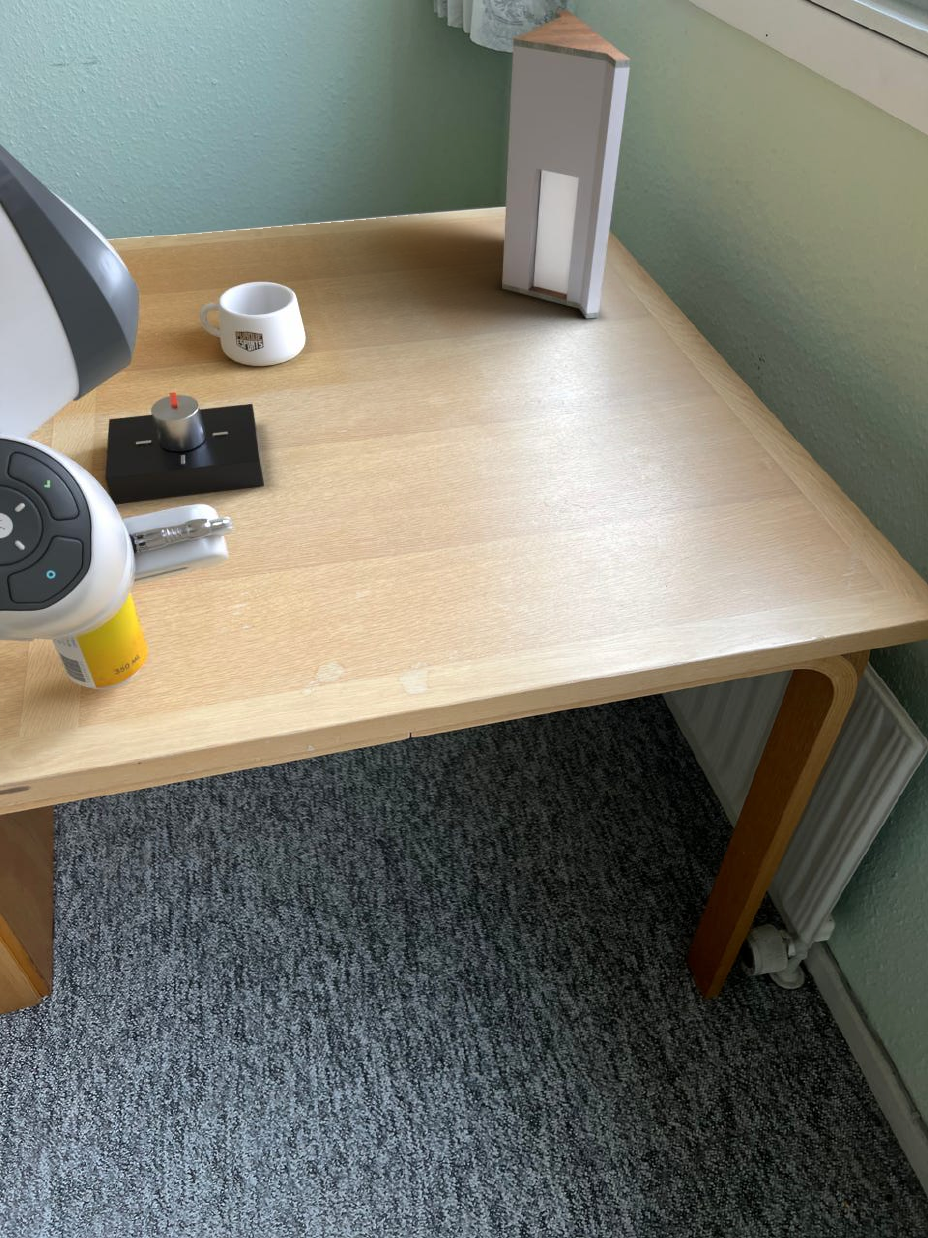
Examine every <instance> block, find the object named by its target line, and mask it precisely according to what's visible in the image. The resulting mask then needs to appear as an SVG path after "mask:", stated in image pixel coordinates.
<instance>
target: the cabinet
mask: <svg viewBox="0 0 928 1238" xmlns="http://www.w3.org/2000/svg"><path fill="white" fill-rule="evenodd" d="M512 46H513V47H512V65H511V67H512V68H511V69H512V70H511V85H510V86H511V89H510V109H509V132H508V153H507V171H506V173H507V174H506V176H507V177H506V196H505V214H504V215H505V216H504V217H505V219H504V239H503V260H502V261H503V262H502V281H501V282H502V283H501V289H503V290H506V291H510V292H515V293H518V294H522V295H526V296H529V297H534V298H537V299H540V300H545V301H549V302H551V303H552V302H553V303H555V304H556V303H557V304H558V305H559V304H560V305H563V306H567V307H572V308H575V309H579V311H580V312H581V313H582V315H583V316H584V318H585V319H596V318H599V316H600V315H599V314H600V307H601V306H600V305H601V298H602V291H603V284H604V274H605V268H606V267H605V266H606V259H607V250H608V244H609V243H608V242H609V234H610V226H611V219H612V212H613V204H614V203H613V202H614V195H615V188H616V179H617V174H618V173H617V171H618V165H619V164H618V163H619V156H620V148H621V141H622V132H623V125H624V116H625V109H626V100H627V92H628V85H629V77H630V70H631V59H630V58H629V57H628V56H627V55H625V54H624V53H623V52H621V51H620V50H619V49H617V47H615V46H613V45H612V44H611V43H610V42H609V41H607V40H606V39H605V38H604V37H602V36H601V35H600V34H599V33H597V32H596V31H595V30H593V29H592V28H591V27H590V26H588V25H587V23H584V21H582V20H581V19H580V18H578V17H577V16H576V15H574V13H572V12H570V11H569V10H566V9H565V10H555V11H554V19H553V20H551V21H549V22H547V23H544V24H543V25H540V26H538V27H536V28H534V29H531V30H530V31H528V32H525V33H523V34H520V35H518V36H516V37H514V38H513V45H512Z"/></svg>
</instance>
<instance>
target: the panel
mask: <svg viewBox="0 0 928 1238" xmlns="http://www.w3.org/2000/svg"><path fill="white" fill-rule="evenodd" d="M200 411H201V416H202V421H203V425H204V430H205V435H206V436H205V440H204V441H203V443H202V444H201V445H199V446H198V447H196V448H194V449H191V450H187V451H180V452H176V451H169V450H166V449H164V448H163V447H162V446H161V445H160V444H159V440H158V437H157V433H156V429H155V425H154V421H153V417H152V414H143V415H136V416H125V417H117V418H109V419H108V433H107V446H106V459H105V461H106V462H105V474H104V479H105V482H106V486H107V489H108V491H109V494H110V495H109V496H110V498H111V499H112V501H113V502H114V504H115V505H118V504H128V503H136V502H142V501H143V502H144V501H145V502H146V501H153V500H160V499H168V498H177V497H183V496H184V497H186V496H193V495H200V494H201V495H202V494H209V493H217V492H225V491H233V490H234V491H235V490H241V489H248V488H249V489H250V488H257V487H264V486H265V481H264V474H263V466H262V458H261V452H260V451H261V450H260V444H259V437H258V428H257V421H256V416H255V409H254V405H253V403H245V404H238V405H237V404H236V405H228V406H220V407H219V406H218V407H208V408H200Z"/></svg>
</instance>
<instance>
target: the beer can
mask: <svg viewBox="0 0 928 1238" xmlns="http://www.w3.org/2000/svg"><path fill="white" fill-rule="evenodd" d="M52 643H53V646H54V647H55V650H56V653H57V655H58V657H59V659H60V662H61V665H62V666H63V669H64V671H65V673H66V675H67V677H68V678H69V679H70V680H71V681H72V682H74V684H77V685H80V686H81V687H86V688H89V689H93V690H109V689H114V688H117V687H121V686H122V685H125V684H126V683H128V682H129V681H131V680H132V679H134V678H135V677H136V676H137V675H138V673H139V672H140V670H141V669H142V667H143V666H144V665H145V663H146V661H147V659H148V655H149V648H148V643H147V640H146V637H145V634H144V631H143V628H142V625H141V621H140V619H139V615H138V613H137V609H136V606H135V602H134V600H133V597H132V594H131V592H130V594H129V596H128V598H127V600H126V601H125V603H124V604H123V606H122V607H121V609H120V610H119V611H118V612H117V613H116V614H115V615H114V616H113V617H112V618H111V619H110V620H109V621H108V622H106V623H105V624H104V625H102V626H101V627H99V628H97V629H95V630H93V631H91V632H89V633H87V634H84V635H81V636H78V637H74V638H69V639H60V640H52Z"/></svg>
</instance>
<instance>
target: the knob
mask: <svg viewBox="0 0 928 1238" xmlns="http://www.w3.org/2000/svg"><path fill="white" fill-rule="evenodd" d="M200 409H201V408H200V404H199V401H198V400H197V399H196V398H194V397H192V396H189V395H186V394H185V395H183V394H177V393H176V392H175V391H174V392H169V395H168V396H166V397H162V398H160V399H159V400H157V401H156V402H154V403H153V404H152V406H151V408H150V415H152V417H153V421H154V425H155V429H156V433H157V437H158V440H159V444H160V445H161V446H162V447H163V448H164V449H166V450H169V451H176V452H180V451H187V450H191V449H194V448H196V447H198V446H199V445H201V444H202V443H203V441H204V440H205V436H206V435H205V430H204V425H203V421H202V416H201V411H200Z"/></svg>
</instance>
